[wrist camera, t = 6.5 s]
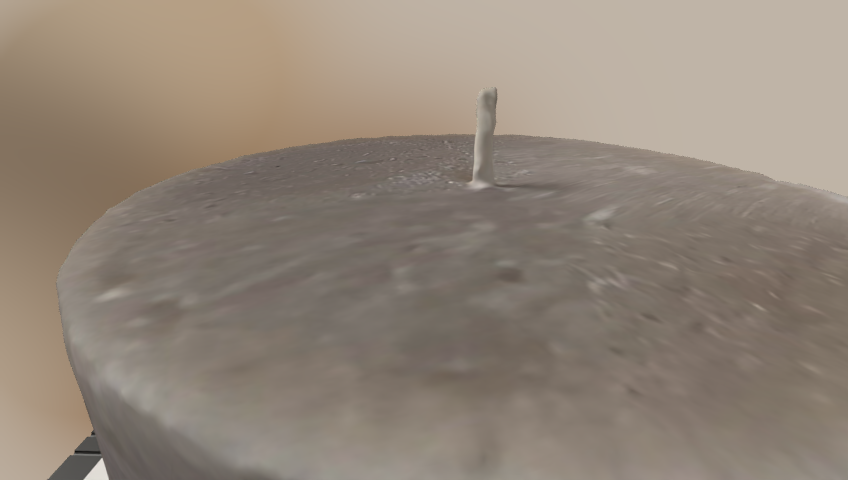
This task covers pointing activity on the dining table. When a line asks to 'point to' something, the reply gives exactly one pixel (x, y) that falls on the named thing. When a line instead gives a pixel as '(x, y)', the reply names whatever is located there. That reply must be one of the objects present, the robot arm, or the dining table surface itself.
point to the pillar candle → (464, 316)
